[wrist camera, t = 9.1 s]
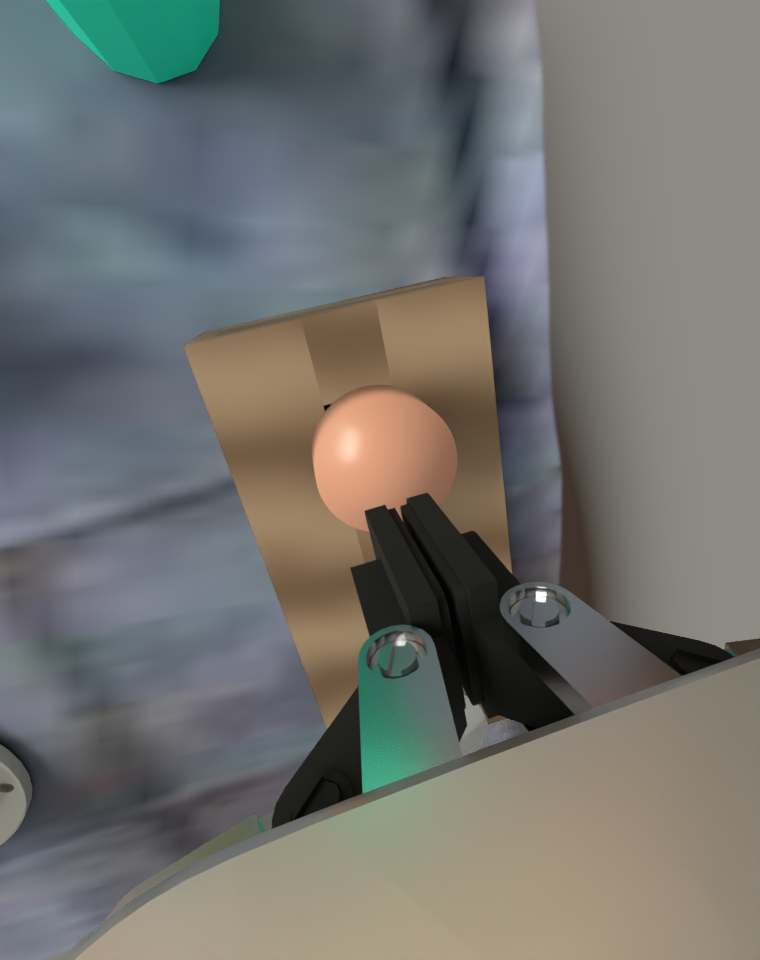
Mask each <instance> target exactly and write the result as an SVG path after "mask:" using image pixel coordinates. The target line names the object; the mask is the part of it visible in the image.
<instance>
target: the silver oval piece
mask: <svg viewBox="0 0 760 960" xmlns="http://www.w3.org/2000/svg"><path fill="white" fill-rule="evenodd" d="M463 692H464V698H465V703H466V709H465V715H466V720H467V727H466V729H465V732H464V734H463V736H462V738H461V740H460V742H459V744H460V748H461V752H462V756H465V755H468V754H470V753H473V752H476V751H478V750H480V748H481V747H482V745H483V744H484V742H485V740H486V738H487V734H488V722H487V719H486V717H485V715H484V713H483V711H482V709H481V707H480V705H479V704H478V705H475V706H473V705H472V704H471V702H470V700H469V698H468V696H467V694H466V692H465V690H464V688H463Z"/></svg>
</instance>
